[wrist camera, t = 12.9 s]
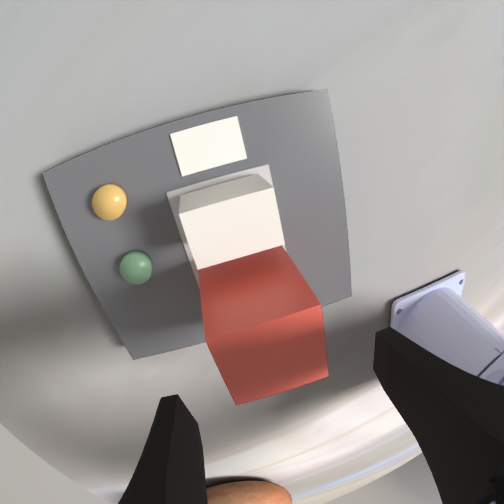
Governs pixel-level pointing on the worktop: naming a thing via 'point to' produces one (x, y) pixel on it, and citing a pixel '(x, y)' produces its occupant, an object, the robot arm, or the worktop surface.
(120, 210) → the breaker panel
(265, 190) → the block
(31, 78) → the worktop surface
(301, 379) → the block
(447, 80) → the worktop surface
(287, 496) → the ceramic jug
